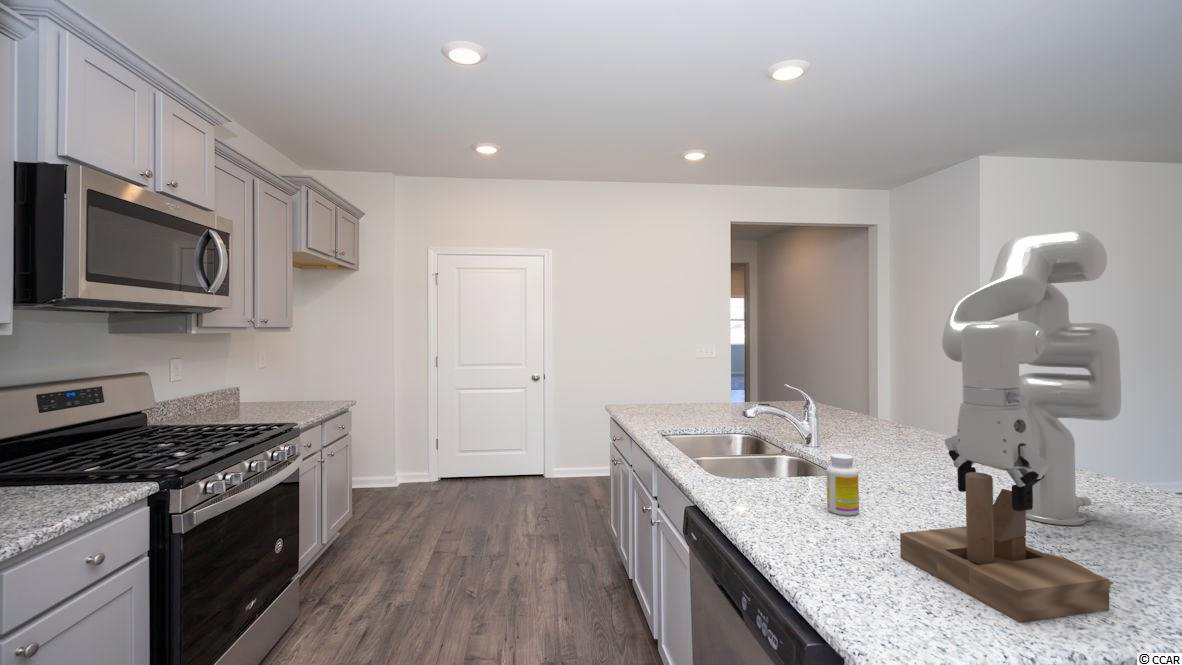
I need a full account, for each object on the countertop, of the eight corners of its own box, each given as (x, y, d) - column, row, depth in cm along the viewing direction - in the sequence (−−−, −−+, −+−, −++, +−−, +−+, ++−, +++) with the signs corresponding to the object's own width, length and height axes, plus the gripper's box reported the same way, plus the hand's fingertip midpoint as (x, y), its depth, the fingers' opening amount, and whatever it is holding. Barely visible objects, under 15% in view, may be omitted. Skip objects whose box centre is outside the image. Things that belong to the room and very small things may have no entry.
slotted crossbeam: (974, 549, 99) (973, 525, 99) (1109, 609, 77) (1109, 578, 77) (900, 557, 96) (900, 533, 96) (1020, 622, 74) (1019, 590, 74)
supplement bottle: (866, 514, 118) (865, 457, 118) (843, 518, 116) (842, 460, 116) (842, 505, 125) (841, 451, 125) (820, 508, 122) (819, 454, 122)
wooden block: (1027, 579, 87) (1025, 471, 87) (985, 592, 83) (983, 478, 83) (1003, 570, 90) (1001, 466, 90) (961, 582, 86) (959, 473, 86)
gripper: (1065, 403, 79) (1068, 515, 79) (963, 389, 96) (965, 482, 96) (1024, 406, 77) (1027, 521, 77) (928, 392, 94) (930, 486, 94)
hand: (993, 499), depth 87 cm, fingers open, 9 cm apart
